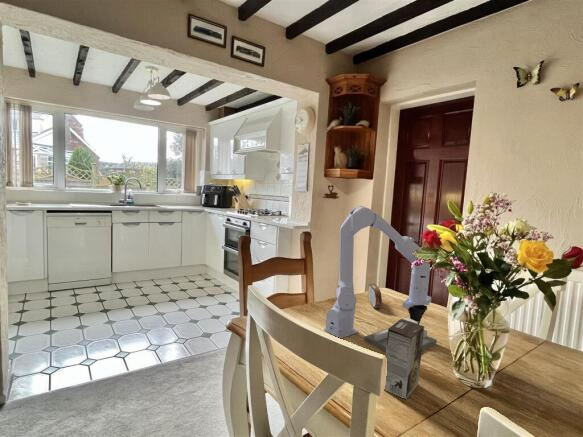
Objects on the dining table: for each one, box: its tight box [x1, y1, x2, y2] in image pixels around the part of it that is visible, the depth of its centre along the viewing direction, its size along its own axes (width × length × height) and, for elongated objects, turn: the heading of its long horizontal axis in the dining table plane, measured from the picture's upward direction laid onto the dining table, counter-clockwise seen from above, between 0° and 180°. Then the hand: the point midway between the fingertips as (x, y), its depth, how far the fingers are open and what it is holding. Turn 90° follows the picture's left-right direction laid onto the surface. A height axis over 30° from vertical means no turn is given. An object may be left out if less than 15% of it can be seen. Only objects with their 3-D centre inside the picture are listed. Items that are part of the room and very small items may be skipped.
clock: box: [367, 283, 383, 309], centre depth 144 cm, size 15×3×8 cm, turn 179°
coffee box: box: [384, 318, 425, 400], centre depth 84 cm, size 9×6×16 cm
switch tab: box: [403, 317, 418, 324], centre depth 112 cm, size 5×5×5 cm
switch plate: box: [364, 327, 438, 353], centre depth 110 cm, size 20×14×4 cm
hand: (414, 325), depth 114 cm, fingers closed
